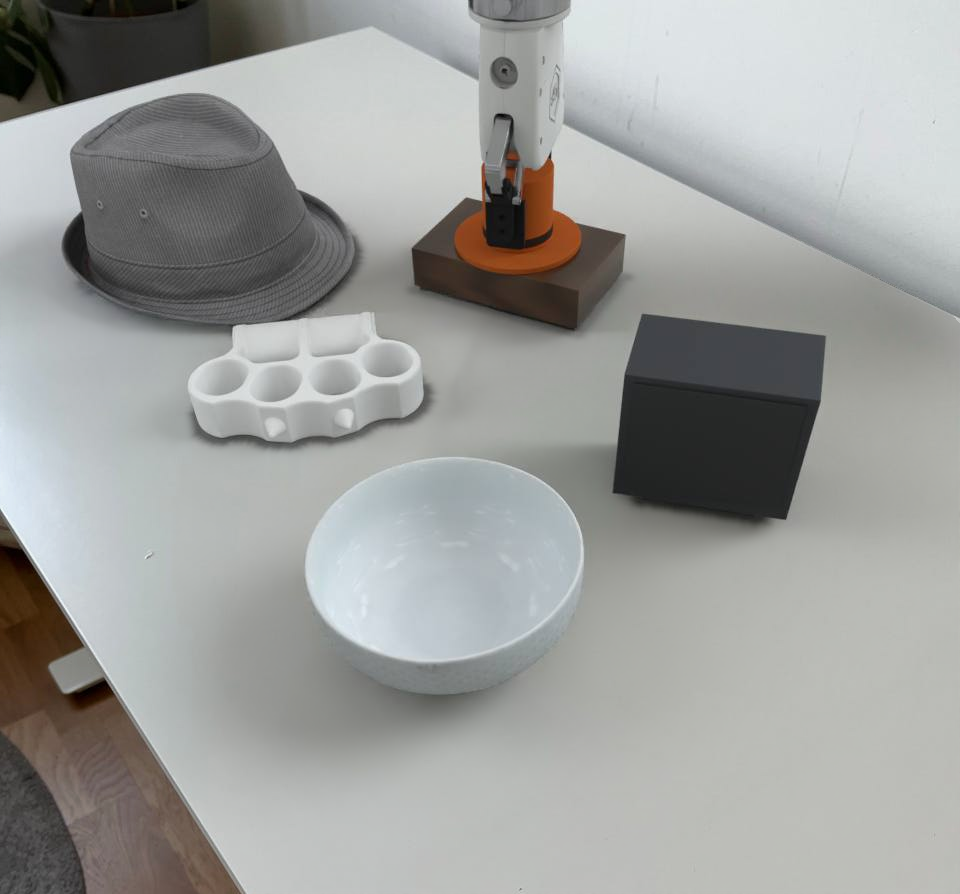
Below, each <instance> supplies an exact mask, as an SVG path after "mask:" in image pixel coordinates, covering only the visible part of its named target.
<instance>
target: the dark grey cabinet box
mask: <svg viewBox="0 0 960 894" xmlns="http://www.w3.org/2000/svg"><path fill="white" fill-rule="evenodd" d="M826 343H827V335H823V334H814V333H808V332H807V333H806V332H800V331H799V332H798V331H789V330H782V329H774V328H766V327H757V326H749V325H740V324H734V323H733V324H732V323H724V322H716V321H707V320H702V319H701V320H700V319H693V318H684V317H683V318H682V317H676V316H668V315H667V316H666V315H659V314H658V315H657V314H650V313H649V314H648V313H641V316H640V319H639V322H638V326H637V330H636V332H635V337H634V339H633V343H632V346H631V350H630V354H629V357H628V361H627V364H626V369H625V371H624V376H623V384H622V394H621V403H620V415H619V425H618V433H617V444H616V453H615V466H614V475H613V483H612V494H615V495H616V494H617V495H621V496H627V497H636V498H641V499H642V500H647V501H653V502H661V503H668V504H674V505H679V506H680V505H681V506H687V507H694V508H700V509H706V510H711V511H719V512H726V513H730V514H739V515H744V516H750V517H755V516H756V517H762V518H763V517H764V518H768V519H776V520H783V521H787V519H788V515H789V512H790V508H791V505H792V502H793V498H794V495H795V491H796V488H797V484H798V481H799V479H800V474H801V470H802V467H803V464H804V460H805V457H806V454H807V451H808V450H807V449H808V446H809V443H810V440H811V437H812V432H813V429H814V426H815V424H816V423H815V422H816V419H817V415H818V412H819V409H820V405H821V402H822V391H823V380H824V366H825V355H826Z"/></svg>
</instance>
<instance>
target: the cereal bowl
mask: <svg viewBox="0 0 960 894" xmlns="http://www.w3.org/2000/svg"><path fill="white" fill-rule="evenodd" d="M584 545H585V544H584V537H583V533H582V530H581V527H580V524H579V522H578V519H577V518H576V515H575V513H574V512H573V511H572V509H571V507H570V505H569V504H568V503H567V502H566V500H565V499H564V498H563V497H562V495H560V494H559V492H557V490H555V489H554V488H553V487H551V485H549V484H547V483H546V482H545V481H543V480H542V479H540V478H538V477H537V476H535V475H532V474H531V473H529V472H527V471H526V470H523V469H520V468H517V467H514V466H512V465H510V464H505V463H502V462H498V461H495V460H494V461H493V460H489V459H483V458H476V457H475V458H474V457H466V456H440V457H432V458H425V459H419V460H413V461H408V462H405V463H402V464H398V465H395V466H392V467H389V468H386V469H384V470H381V471H379V472H377V473H375V474H372V475H370V476H368V477H366V478H364V479H363V480H361V481H360V482H358V483H356V484H355V485H353V486H352V487H350V488H349V489H348V490H346V491H345V492H343V494H341V495H340V496H339V497H338V498H337V499H336V500H335V501H334V502H333V503H332V504H331V505H330V506H329V507H328V508H327V509H326V510H325V512H324V513H323V514H322V516H321V517H320V518H319V520H318V521H317V523H316V524H315V526H314V528H313V530H312V533H311V535H310V536H309V540H308V543H307V546H306V550H305V555H304V563H303V574H304V575H303V577H304V583H305V590H306V594H307V597H308V599H309V600H308V601H309V604H310V606H311V608H312V611H313V615H314V617H315V619H316V621H317V624H318V626H319V627H320V629H321V630H322V632H323V634H324V636H325V637H326V639H327V640H328V642H329V644H330V645H331V646H332V647H333V648H334V650H336V652H338V655H340V656H341V657H342V658H343V659H344V660H345V661H346V662H347V663H348V664H349V665H351V666H353V667H354V668H355V670H357V671H358V672H360V673H362V674H364V675H365V676H366V677H368V678H371V679H373V680H374V681H376V682H378V683H380V684H384V685H386V686H388V687H391V688H393V689H397V690H402V691H404V692H410V693H415V694H423V695H439V696H440V695H444V696H445V695H447V696H448V695H451V694H452V695H457V694H465V693H472V692H474V691H480V690H483V689H487V688H491V687H494V686H495V685H498V684H502V683H504V682H506V681H508V680H510V679H512V678H513V677H516V676H518V675H519V674H521V673H523V672H524V671H526V670H527V669H529V668H530V667H532V665H534V664H536V663H537V662H538V661H539V660H540V659H541V658H543V657H544V656H545V655H546V654H548V652H549V651H550V650H551V649H552V648H553V647H554V646H555V644H556V643H557V642H558V640H559V639H561V637H562V636H563V634H564V632H565V630H567V628H568V626H569V624H570V621H571V619H572V618H573V616H574V614H575V611H576V609H577V606H578V602H579V599H580V597H581V589H582V586H583V580H584V579H583V578H584V575H585V569H584V567H585V546H584Z"/></svg>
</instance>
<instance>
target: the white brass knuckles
mask: <svg viewBox="0 0 960 894" xmlns="http://www.w3.org/2000/svg"><path fill="white" fill-rule="evenodd" d="M231 333H232V334H231V337H232V338H231V339H232V340H231V341H232V348H231V349H230V350H229V351H227V353H226V354H224V355H222V356H218V357H215V358H212V359H209V360H208V361H205V362H203V363H202V364H201V365H199V366H197V368H196V369H194V371H193V372H192V373H191V374H190V376H189V378H188V381H187V392H188V395H189V398H190V401H191V404H192V408H193V410H194V411H193V412H194V414H195V417H196V420H197V423H198V425H199V427H200V428H201V429H202V431H204V433H206V434H209V435H210V436H213V437H215V438H220V439H224V438H228V437H232V436H245V435H246V436H254V437H258V438H261V439H263V440H265V441H266V442H277V443H291V444H292V443H293V442H296V441H299V440H301V439H305V438H306V439H307V438H310V437H311V438H312V437H328V438H329V437H330V438H334V439H337V438H339V437H342V436H346V435H349V434H350V435H351V434H352V433H356V432H359V431H360V430H361V429H363V428H364V427H366V426H367V425H369V424H371V423H374V422H378V421H380V420H386V419H404V418H406V417H408V416H409V415H411V414H413V413H414V412H415V411H416V410H417V409H418V408H419V407H420V406H421V404H422V403H423V399H424V393H425V391H424V381H423V380H424V379H423V369H422V360H421V357H420V355H419V353H418V351H417V350H416V349H415V348H414V347H412V346H411V345H409V344H407V343H405V342H402V341H400V340H393V339H387V338H386V339H385V338H382V337H380V336H379V335H377V327H376V319H375V312H371V311H362V312H361V313H354V314H353V313H352V314H343V315H333V316H332V315H331V316H322V317H313V318H308V317H303V318H299V319H291V320H280V321H277V322H271V323H261V324H252V325H246V324H244V325H236V326H232V332H231Z"/></svg>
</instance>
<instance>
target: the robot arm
mask: <svg viewBox="0 0 960 894" xmlns="http://www.w3.org/2000/svg"><path fill="white" fill-rule="evenodd" d="M467 4H468V5H467V11H468V12H467V13H468V16H469V18H470V19H471V20H473V21H474V22H475V23H477V24H479V46H478V47H479V49H478V132H479V133H478V137H479V149H480V158H481V161H482V163H483V162H484V163H485V176H486V181H485V185H484V186H485V213H486V243H487V245H488V246H490V247H498V248H507V249H516V250H522V249H523V248H524V246H525V230H526V200H522V199H521V198H522V191H523V184H524V176H525V169H526V168H532V170H533V171H537V170H539V169H540V168H541V167H542V166H543V165H544V163H545V162H546V160H547V158H548V157H549V158H550V159H551V160H552V150H553V148H554V146H555V144H556V142H557V140H558V137H559V135H560V133H561V130H562V128H563V125H564V121H565V120H564V118H565V41H564V38H565V37H564V36H565V35H564V21H565V19H566V18H567V17H568V16H570V13H571V11H572V0H467ZM508 154H518V155H519V160H516V159H507V155H508ZM506 170H508V171H516V172H515V179H514V186H513V185H512V183H511V181H510V179H509V178H505V176H506Z"/></svg>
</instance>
